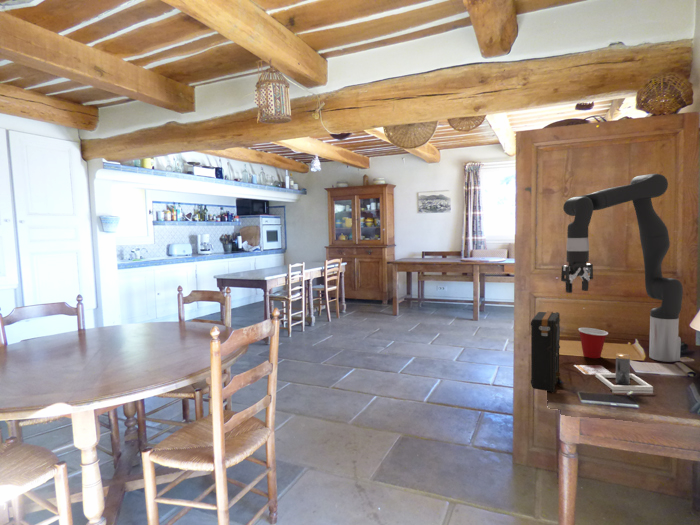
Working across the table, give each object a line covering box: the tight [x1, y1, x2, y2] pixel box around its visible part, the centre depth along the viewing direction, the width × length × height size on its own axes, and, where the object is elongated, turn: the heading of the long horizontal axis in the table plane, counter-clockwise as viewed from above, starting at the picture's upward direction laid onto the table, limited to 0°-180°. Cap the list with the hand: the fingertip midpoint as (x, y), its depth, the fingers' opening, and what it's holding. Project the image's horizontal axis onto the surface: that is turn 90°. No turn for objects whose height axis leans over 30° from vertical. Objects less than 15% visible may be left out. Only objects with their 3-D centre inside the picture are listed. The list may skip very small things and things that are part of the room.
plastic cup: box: [577, 327, 609, 359], centre depth 173 cm, size 11×11×12 cm
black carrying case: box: [530, 310, 561, 393], centre depth 147 cm, size 16×9×25 cm, turn 148°
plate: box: [573, 364, 612, 375], centre depth 158 cm, size 10×10×1 cm
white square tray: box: [595, 372, 654, 394], centre depth 144 cm, size 12×12×2 cm
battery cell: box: [615, 353, 631, 385], centre depth 143 cm, size 4×4×10 cm
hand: (577, 291), depth 161 cm, fingers open, 8 cm apart
